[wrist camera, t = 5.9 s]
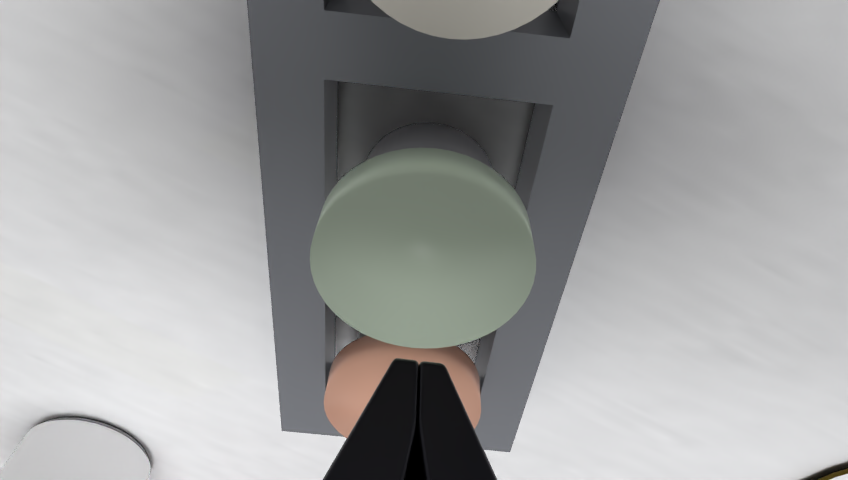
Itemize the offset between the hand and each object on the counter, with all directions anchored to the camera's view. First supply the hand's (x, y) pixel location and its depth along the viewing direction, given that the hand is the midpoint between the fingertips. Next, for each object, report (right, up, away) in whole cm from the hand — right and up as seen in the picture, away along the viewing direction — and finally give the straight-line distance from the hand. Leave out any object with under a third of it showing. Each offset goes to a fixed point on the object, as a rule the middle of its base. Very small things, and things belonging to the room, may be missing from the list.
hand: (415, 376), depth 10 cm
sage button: (0, +4, +8) cm, 9 cm away
